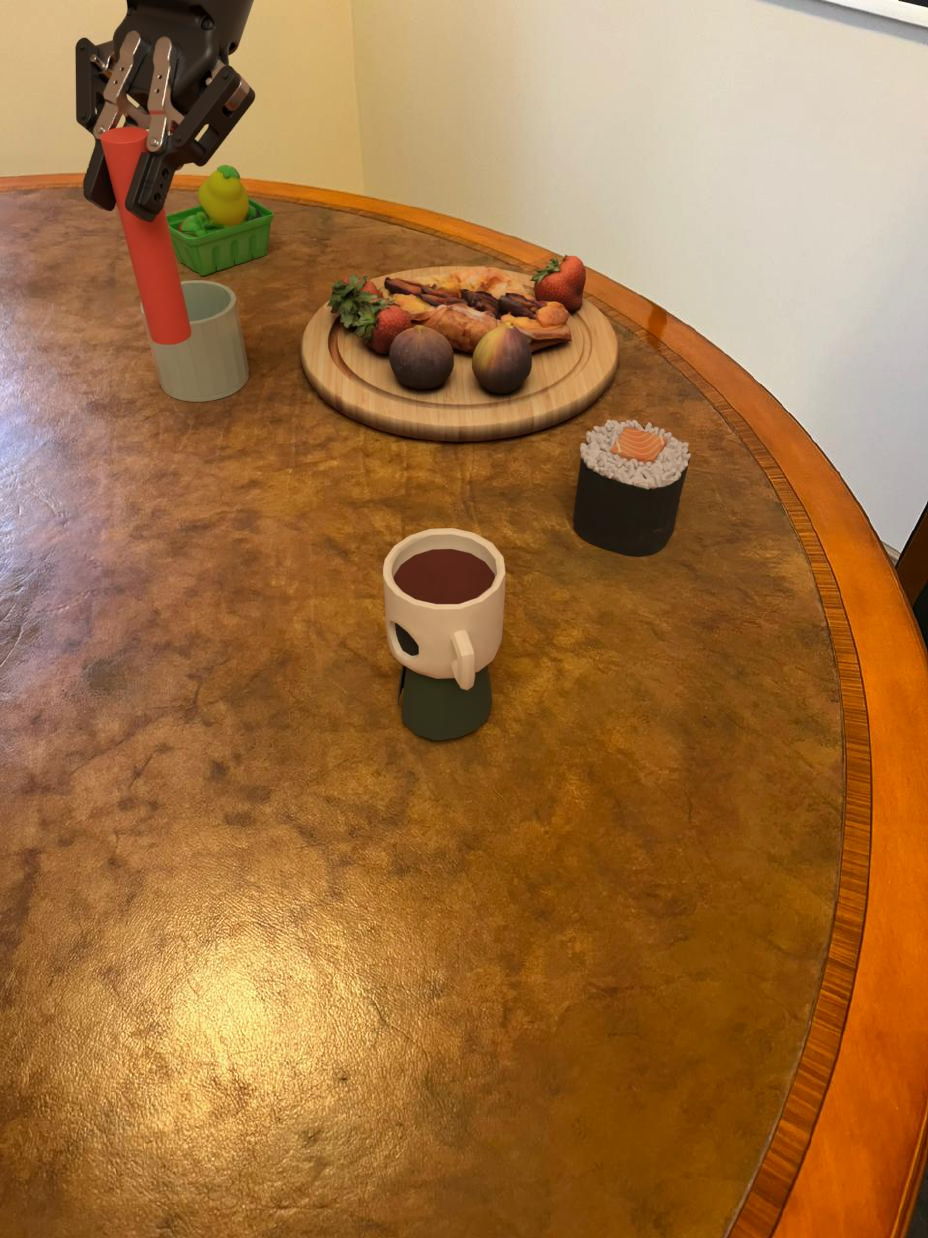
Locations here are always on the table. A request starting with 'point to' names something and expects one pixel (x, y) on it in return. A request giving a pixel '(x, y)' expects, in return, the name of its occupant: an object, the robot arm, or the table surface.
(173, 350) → the tumbler
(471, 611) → the character mug
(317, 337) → the wooden plate
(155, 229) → the red cylindrical rod
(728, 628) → the table surface
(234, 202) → the fruit basket
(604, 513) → the sushi
